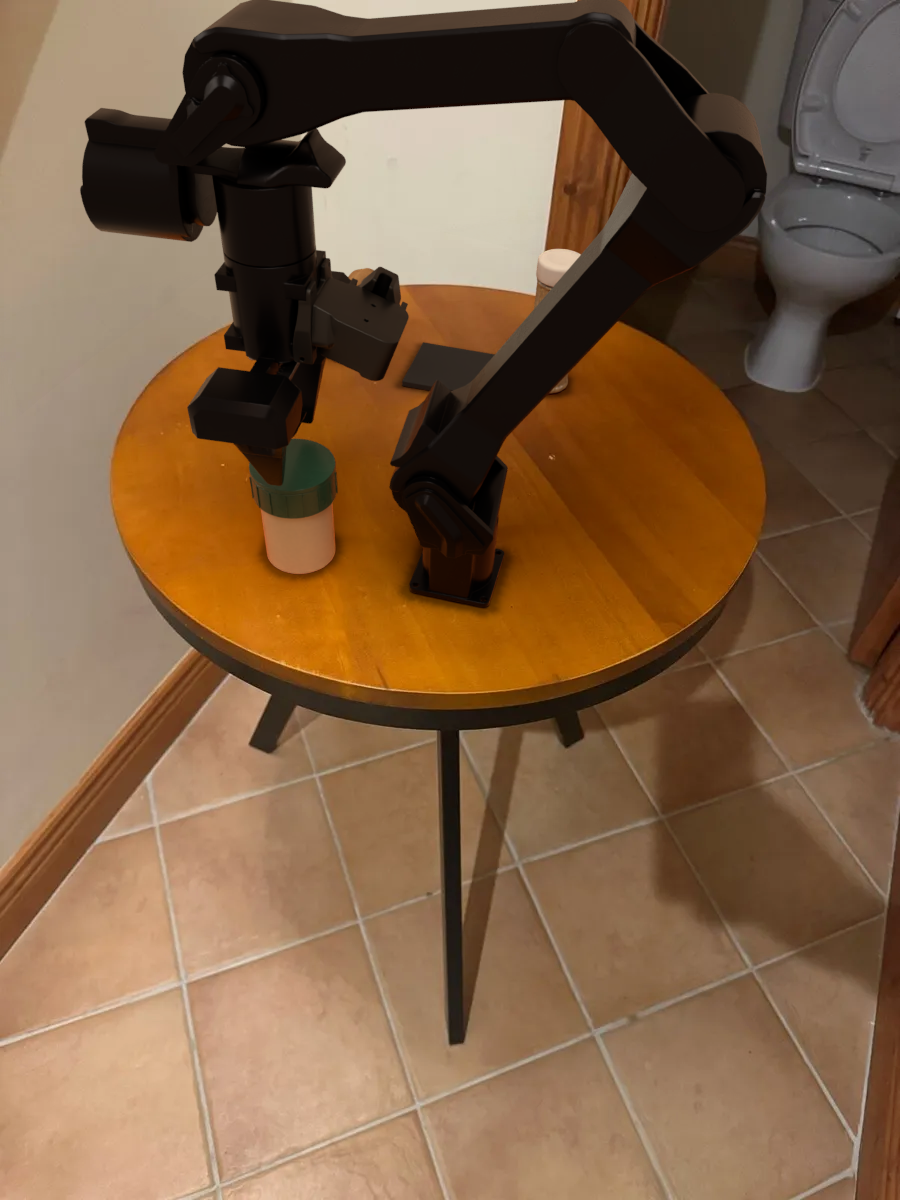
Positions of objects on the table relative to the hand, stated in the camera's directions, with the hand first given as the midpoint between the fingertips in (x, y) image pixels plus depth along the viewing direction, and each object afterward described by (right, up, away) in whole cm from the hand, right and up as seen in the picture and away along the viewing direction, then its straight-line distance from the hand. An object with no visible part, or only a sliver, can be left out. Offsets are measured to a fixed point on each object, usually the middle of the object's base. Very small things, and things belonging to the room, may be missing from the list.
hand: (291, 451), depth 67 cm
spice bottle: (+22, +11, +26) cm, 36 cm away
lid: (0, -1, +1) cm, 2 cm away
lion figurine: (+1, +17, +30) cm, 35 cm away
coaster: (+12, +13, +27) cm, 32 cm away
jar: (0, -7, +7) cm, 10 cm away
